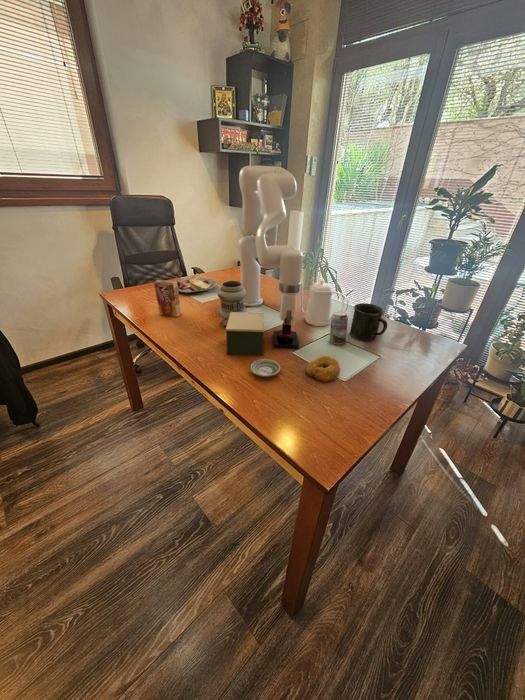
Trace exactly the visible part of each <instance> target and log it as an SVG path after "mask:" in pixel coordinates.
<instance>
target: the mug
mask: <svg viewBox="0 0 525 700" xmlns="http://www.w3.org/2000/svg"><path fill="white" fill-rule="evenodd" d="M353 309H354V311H353V316H352V320H351V326H350V330H349V332H350V336H351V337H352V338H354V339H355V340H358V341H362V342H372V341H375V339H376V338H377V336H382V335H383V334H385V332H386V331H387V329H388V322H387V321H386V319H384V318H382V316H383V314H384V312H385V310H384V308H382V307H381V306H379V305H377V304H373V303H366V302H363V303H361V302H360V303H356V304H355V305H354V306H353ZM381 323H382V325H383V327H382V329H381V331H380V332H379V328H380V324H381Z"/></svg>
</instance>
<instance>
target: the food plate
mask: <svg viewBox="0 0 525 700" xmlns="http://www.w3.org/2000/svg"><path fill="white" fill-rule="evenodd" d="M176 281H177V286H178V292H180V293H199V292H203V291H206V290H210V289H213V288H215V287H217V281H216V280H213V279H210V278H205V277H196V276H195V275H194V276H192V277H189V278H183V279H178V280H176Z"/></svg>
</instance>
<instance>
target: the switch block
mask: <svg viewBox="0 0 525 700" xmlns="http://www.w3.org/2000/svg"><path fill="white" fill-rule="evenodd" d="M281 332H282V329H279V330H273V348H274V349H291V350H299V347H300V346H299V339H298V333H297V331H295V330H291V336H282V335H281Z"/></svg>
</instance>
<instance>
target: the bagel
mask: <svg viewBox="0 0 525 700" xmlns="http://www.w3.org/2000/svg"><path fill="white" fill-rule="evenodd" d="M341 369H342V368H341V365H340V363H339V361H338V360H336V359H335V358H334V357H331V356H327V355H323V356H320V357H317V358H316V359H314V360H311V362H309V363H308V364H307V366H306V367H305V372H306V374H307V375H308V376H311V377H314V379H316V380H318V381H321V382H331V381H333V380H335V379H337V378H338V376H339V375H340V374H341V373H340V372H341Z"/></svg>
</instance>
